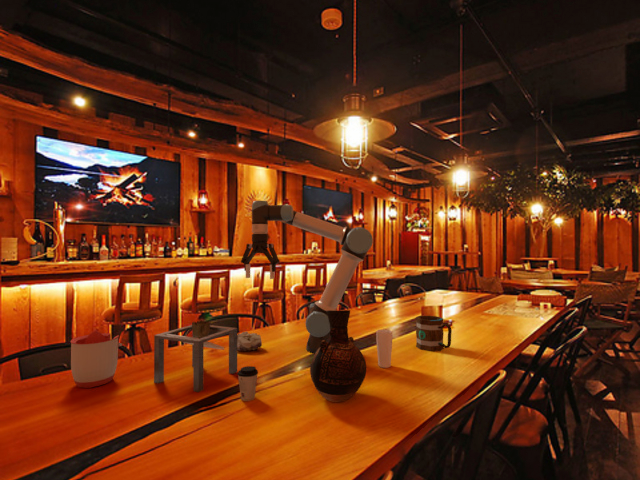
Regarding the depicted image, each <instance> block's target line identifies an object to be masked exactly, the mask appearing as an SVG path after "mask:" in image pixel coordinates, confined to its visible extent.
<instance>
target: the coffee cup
mask: <svg viewBox="0 0 640 480" xmlns="http://www.w3.org/2000/svg"><path fill="white" fill-rule="evenodd" d="M258 374H259V370H258V369H257V368H256V366H251V365H250V366H248V365H247V366H243V367H241V368H240V369H239V370H237V376H238V377H237V378H238V384H239V392H240V393H239V394H240V399H241V401H243V402H250V401H253V400H254V399H255V398H256V389H257V380H258Z"/></svg>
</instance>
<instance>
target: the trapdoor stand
mask: <svg viewBox="0 0 640 480" xmlns="http://www.w3.org/2000/svg"><path fill="white" fill-rule="evenodd" d="M189 330H190V331H191V330H192V324H190V325H188V326H187V325H186V326H183V327H180V328H176V329H172V330H169V331H165V332H162V333H157V334H154V337H153V339H154V341H153V342H154V343H153V345H154V346H153V348H154V349H153V351H154V352H153V353H154V354H153V358H154V359H153V362H154V363H153V383H154V384H158V385H159V384H162V383H164V382H165V370H164V369H165V341H166V340H168V341H174V342H181V343H184V342H187V343H186V344H188V343H194V345H192V346H191V347H192V349H191V350H192V354H191V355H192V357H191V358H192V359H191V360H192V361H191V363H192V365H191V366H192V367H193V370H192V371H193V376H192V377H193V378H192V379H193V382H192V383H193V392H196V393H200V392H202V391H204V347H203V345H204V342H206V341H208V342H210V341H212V340H215V339H218V338H220V337H223V336H227V335H228V374H231V375H232V374H233V375H234V374H237V373H238V350H237V335H238V328H237V327H231V326H221V325H213V324H212V325H211V324H210V330H214V331H218V332H215V333H212V334H208V336H206V337H203V338H200V339H193V338H186V337H178V336H171V335H177V334H179V333H182V332H183V333H184V332H187V331H189ZM191 333H192V336H191V337H194V335H193V331H191ZM167 334H171V335H167ZM194 338H196V337H194Z"/></svg>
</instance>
